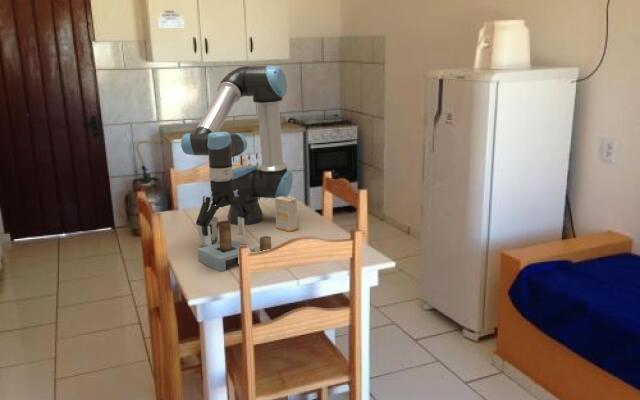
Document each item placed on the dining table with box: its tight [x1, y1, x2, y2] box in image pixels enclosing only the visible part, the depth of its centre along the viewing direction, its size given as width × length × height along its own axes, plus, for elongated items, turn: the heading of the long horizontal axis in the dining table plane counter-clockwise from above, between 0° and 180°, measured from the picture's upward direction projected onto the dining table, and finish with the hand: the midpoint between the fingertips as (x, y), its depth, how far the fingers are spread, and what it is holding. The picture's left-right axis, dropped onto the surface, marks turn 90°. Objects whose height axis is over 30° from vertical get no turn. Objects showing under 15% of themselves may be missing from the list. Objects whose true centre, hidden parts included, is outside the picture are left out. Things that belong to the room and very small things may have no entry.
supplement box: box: [274, 196, 299, 233], centre depth 225 cm, size 8×5×13 cm, turn 47°
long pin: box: [218, 220, 234, 264], centre depth 191 cm, size 4×4×14 cm
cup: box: [195, 216, 220, 247], centre depth 208 cm, size 8×8×10 cm
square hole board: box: [196, 239, 256, 273], centre depth 192 cm, size 14×14×4 cm
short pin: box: [259, 235, 272, 252], centre depth 198 cm, size 4×4×6 cm
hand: (225, 239), depth 191 cm, fingers open, 13 cm apart
